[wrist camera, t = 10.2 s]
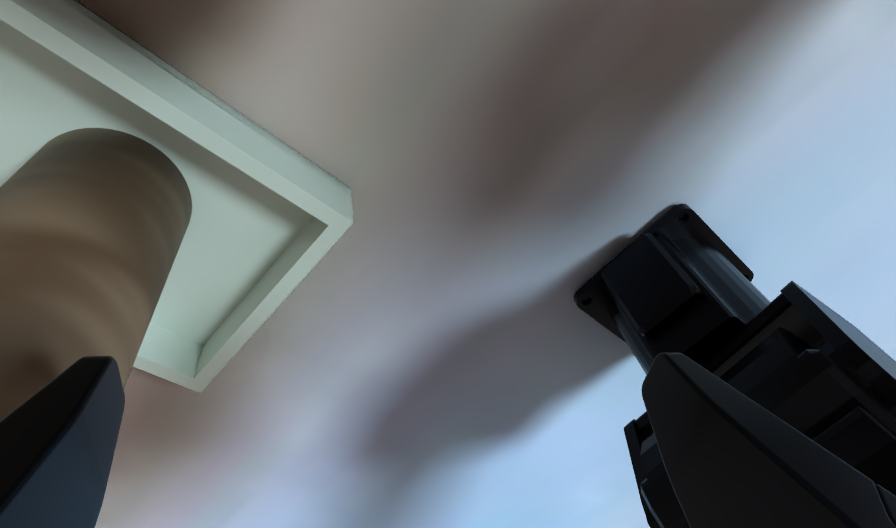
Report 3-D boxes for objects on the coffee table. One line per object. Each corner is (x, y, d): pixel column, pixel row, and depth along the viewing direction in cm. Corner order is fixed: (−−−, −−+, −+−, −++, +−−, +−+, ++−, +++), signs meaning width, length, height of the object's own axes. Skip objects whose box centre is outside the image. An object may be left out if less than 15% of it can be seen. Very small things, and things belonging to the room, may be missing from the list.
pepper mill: (220, 187, 20) (58, 663, 8) (146, 280, 22) (-86, 800, 9) (74, 95, 18) (-485, 579, 5) (2, 207, 19) (-563, 783, 7)
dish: (351, 189, 22) (353, 222, 20) (210, 350, 25) (200, 393, 23) (-39, -77, 15) (-95, -68, 13) (-159, 187, 19) (-218, 226, 17)
